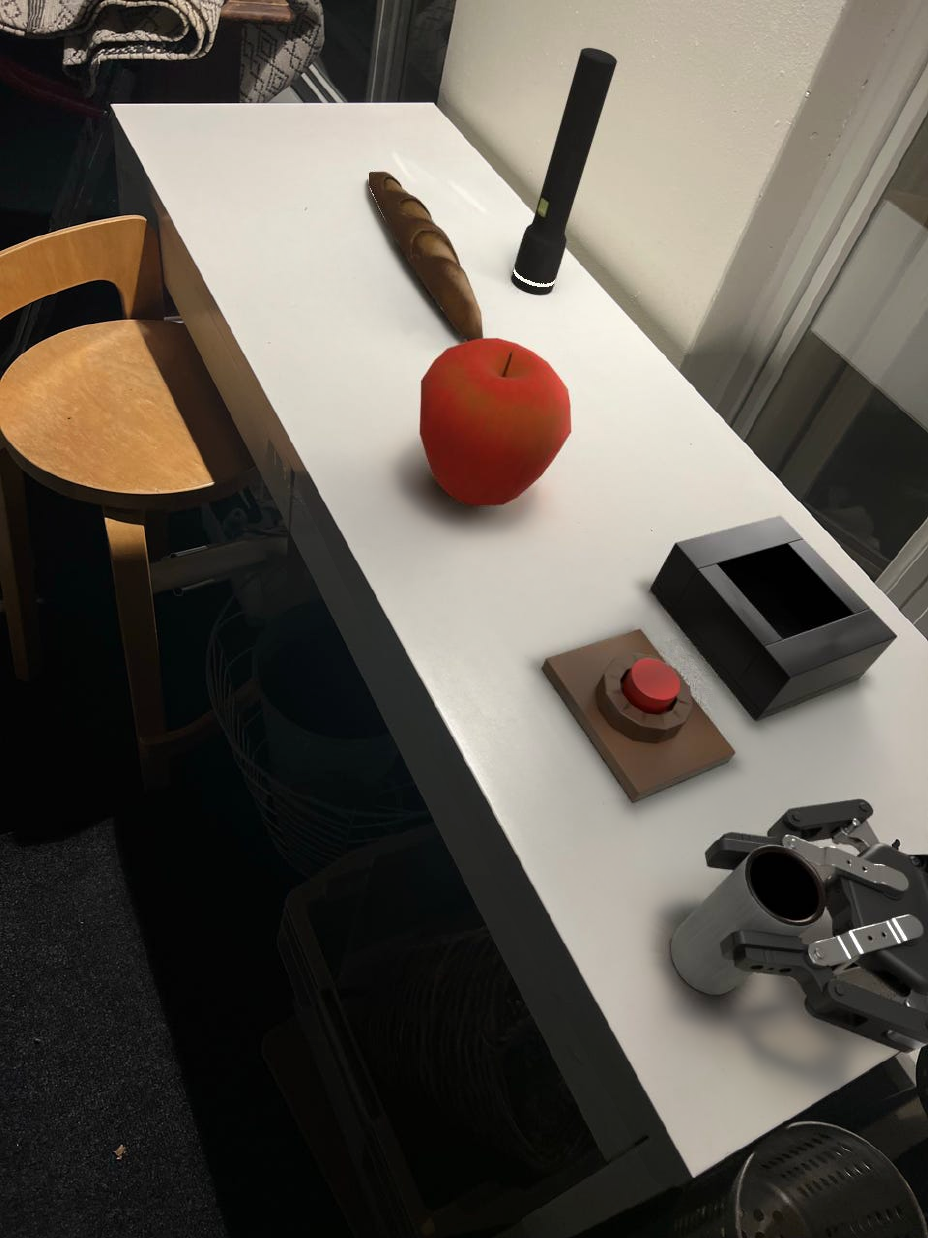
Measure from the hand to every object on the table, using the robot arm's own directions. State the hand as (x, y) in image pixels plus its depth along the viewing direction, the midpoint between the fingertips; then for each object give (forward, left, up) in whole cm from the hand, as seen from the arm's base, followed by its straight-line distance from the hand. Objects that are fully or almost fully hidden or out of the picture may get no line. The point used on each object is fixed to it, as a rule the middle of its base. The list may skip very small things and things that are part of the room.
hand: (720, 897), depth 48 cm
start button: (+15, -9, -5) cm, 18 cm away
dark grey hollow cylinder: (-1, -2, -8) cm, 9 cm away
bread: (+76, -22, -8) cm, 80 cm away
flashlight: (+70, -34, -8) cm, 78 cm away
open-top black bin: (+18, -24, -8) cm, 31 cm away
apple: (+40, -9, -8) cm, 42 cm away
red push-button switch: (+15, -9, -8) cm, 19 cm away
